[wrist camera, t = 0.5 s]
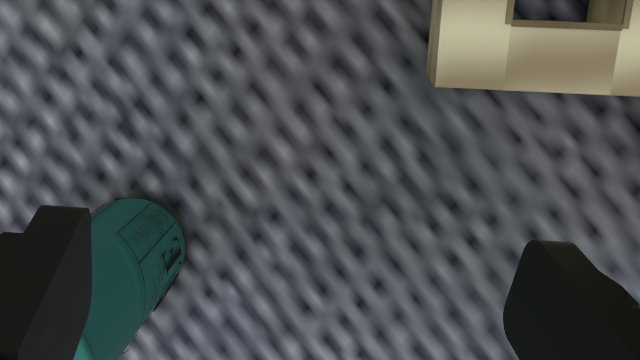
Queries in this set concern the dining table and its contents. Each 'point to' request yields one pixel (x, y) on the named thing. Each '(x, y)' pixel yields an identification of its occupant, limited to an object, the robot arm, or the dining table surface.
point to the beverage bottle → (128, 272)
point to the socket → (535, 49)
